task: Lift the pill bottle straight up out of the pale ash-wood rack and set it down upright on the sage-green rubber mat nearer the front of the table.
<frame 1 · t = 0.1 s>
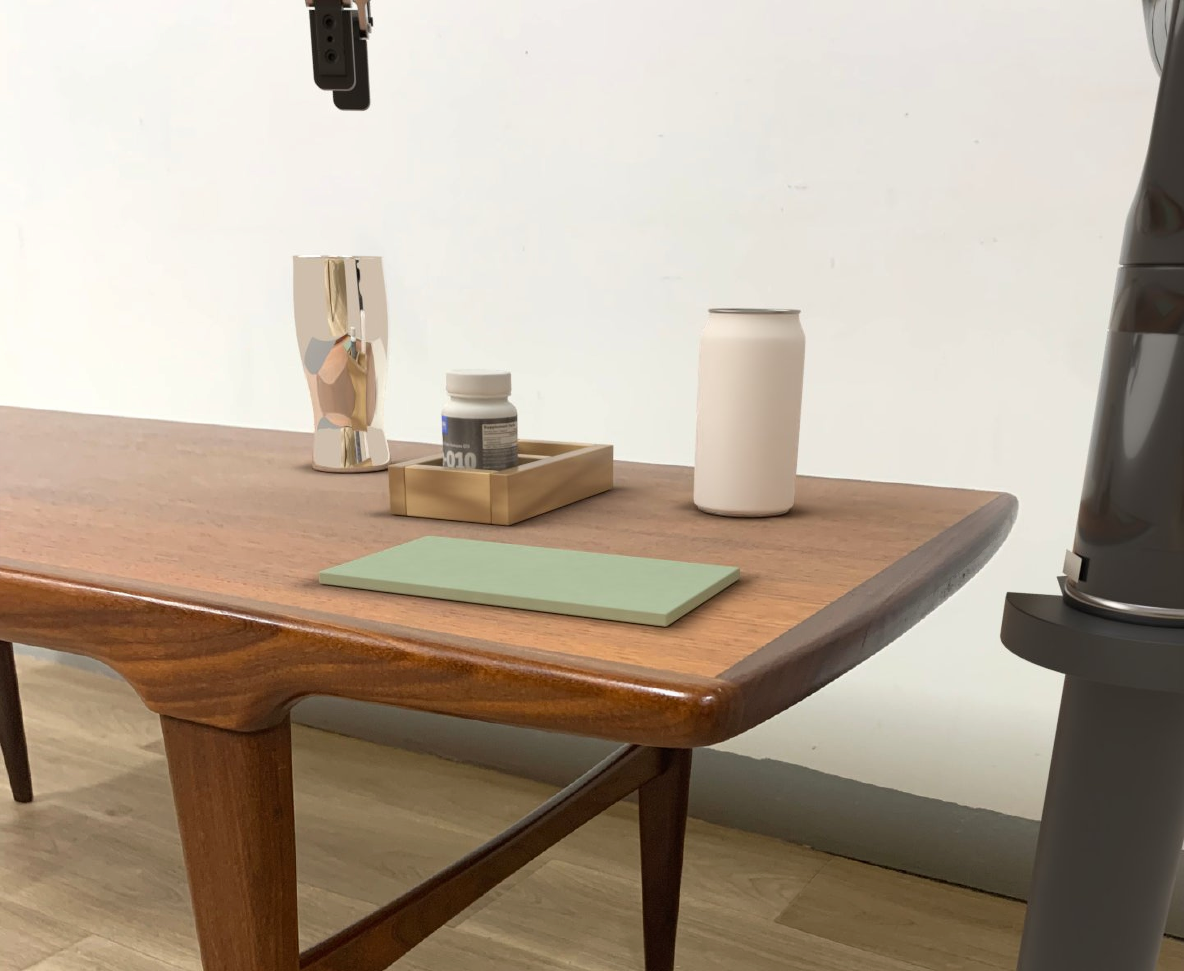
hand: (344, 100, 71), 23 cm above the table, tool pointing down, fingers open, 8 cm apart
rack: (508, 500, 81), on the table
pill bottle: (482, 512, 78), resting in rack
mat: (532, 581, 60), on the table
can: (742, 512, 79), on the table
beer glass: (352, 469, 95), on the table
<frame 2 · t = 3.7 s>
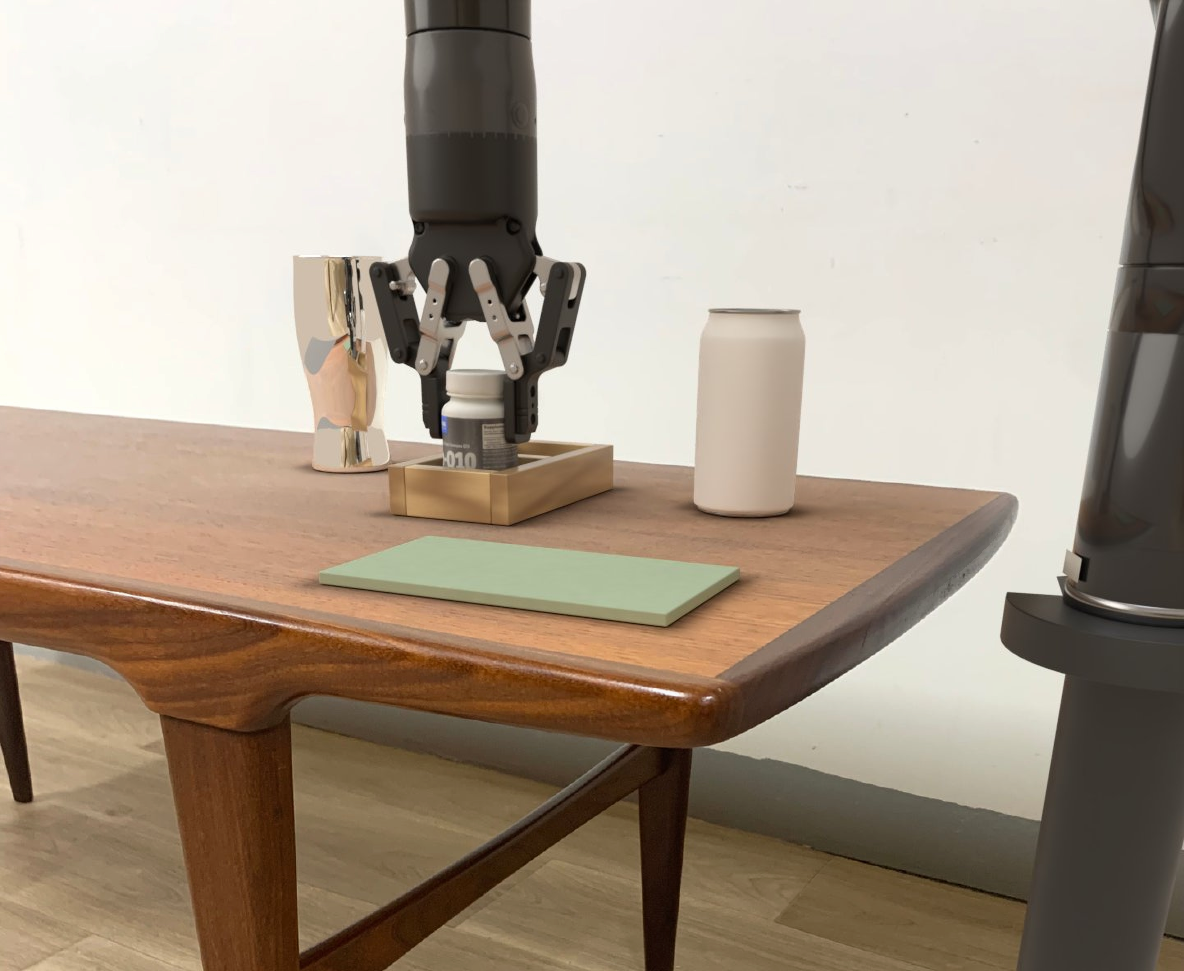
hand: (479, 438, 76), 4 cm above the table, tool pointing down, fingers closed on pill bottle, 4 cm apart
pill bottle: (482, 512, 78), resting in rack, touching gripper
everything else where it was.
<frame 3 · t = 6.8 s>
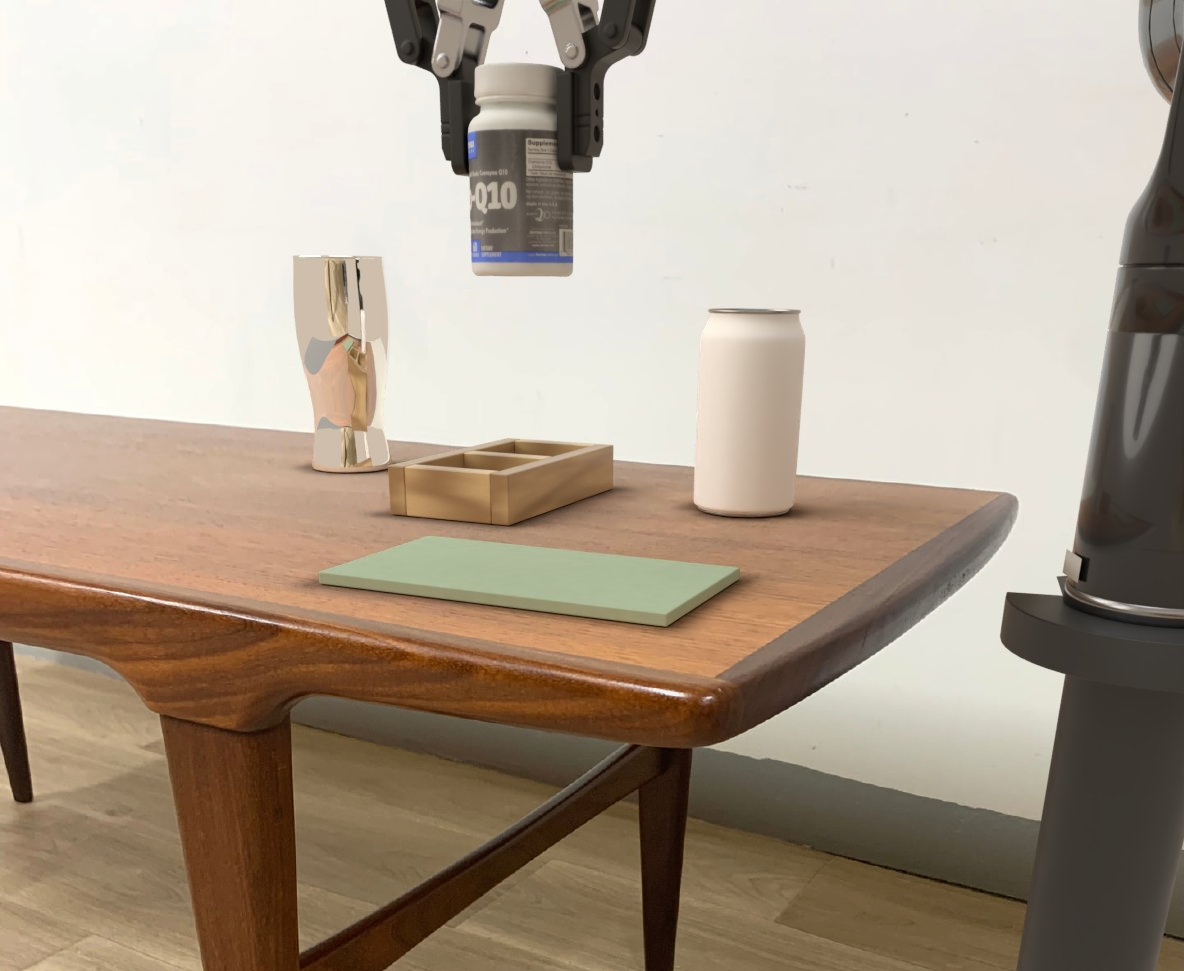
hand: (521, 171, 55), 18 cm above the table, tool pointing down, fingers closed on pill bottle, 4 cm apart
pill bottle: (523, 281, 57), point 14 cm above the table, touching gripper
everything else where it was.
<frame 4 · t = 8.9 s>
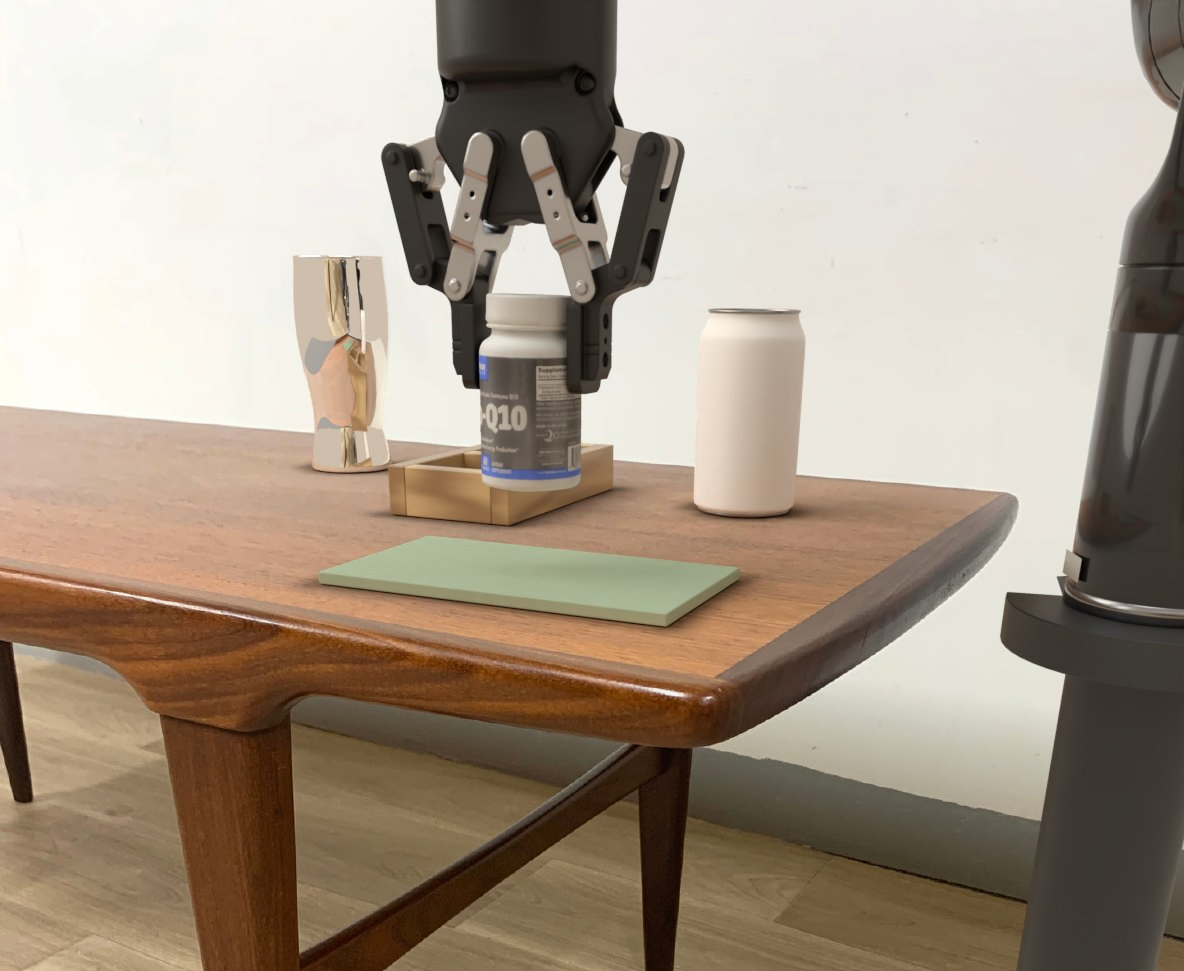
hand: (530, 388, 56), 9 cm above the table, tool pointing down, fingers closed on pill bottle, 4 cm apart
pill bottle: (531, 489, 58), point 4 cm above the table, touching gripper
everything else where it was.
when the fingers open (5 cm above the table, at t = 10.4 s): pill bottle stays where it is, resting on mat.
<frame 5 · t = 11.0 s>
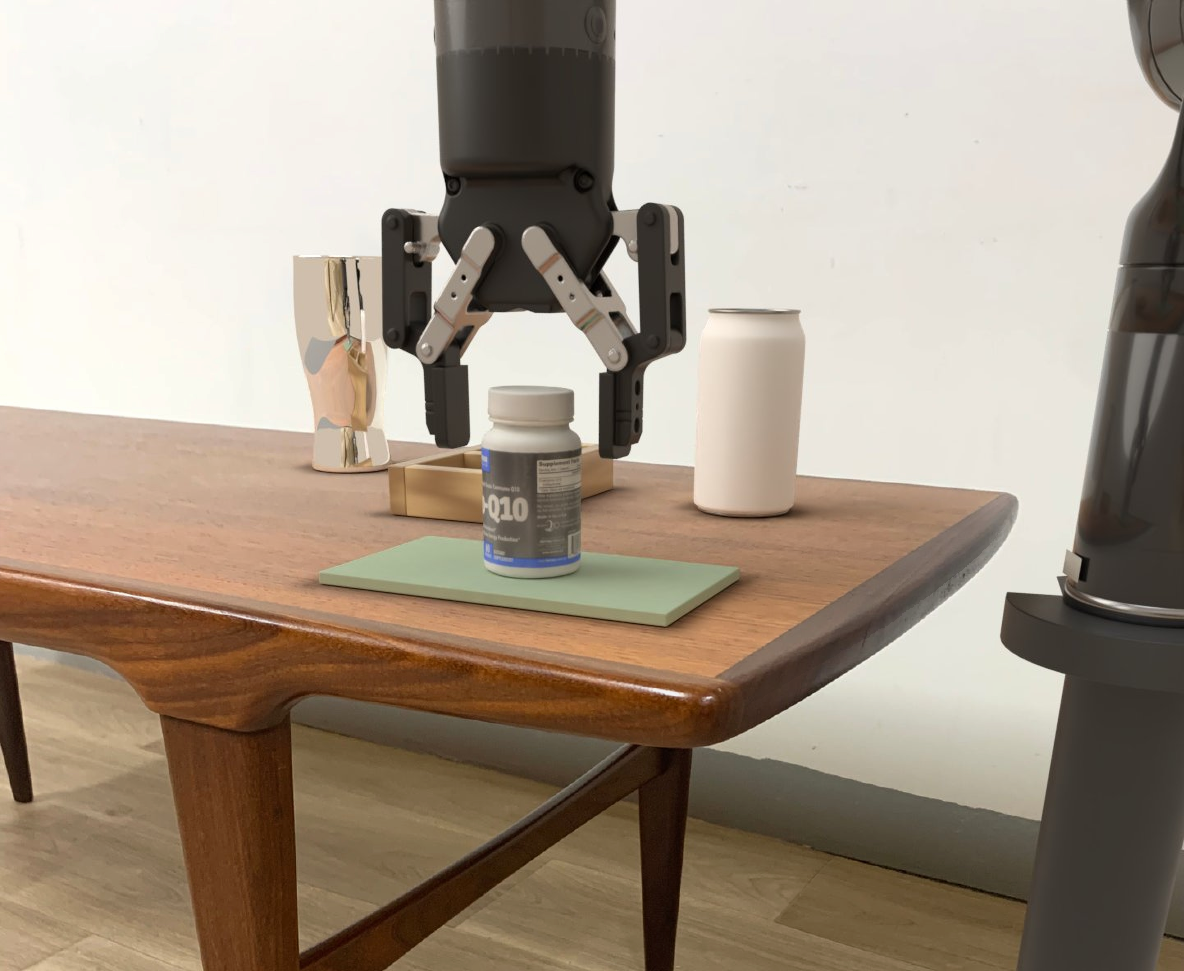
hand: (531, 452, 57), 6 cm above the table, tool pointing down, fingers open, 8 cm apart
pill bottle: (532, 573, 59), resting on mat
everything else where it was.
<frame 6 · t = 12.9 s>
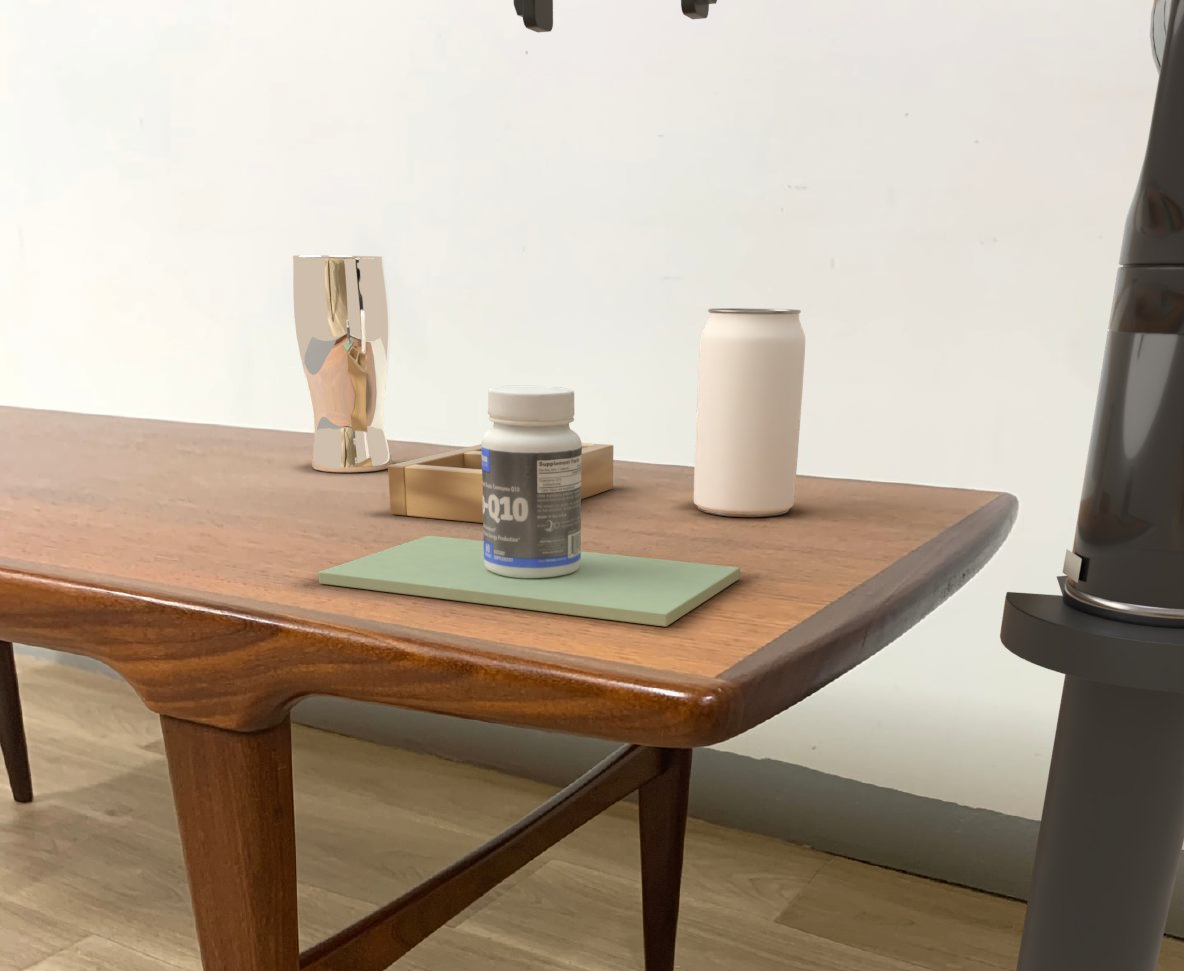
hand: (614, 23, 61), 26 cm above the table, tool pointing down, fingers open, 8 cm apart
nothing on the table moved.
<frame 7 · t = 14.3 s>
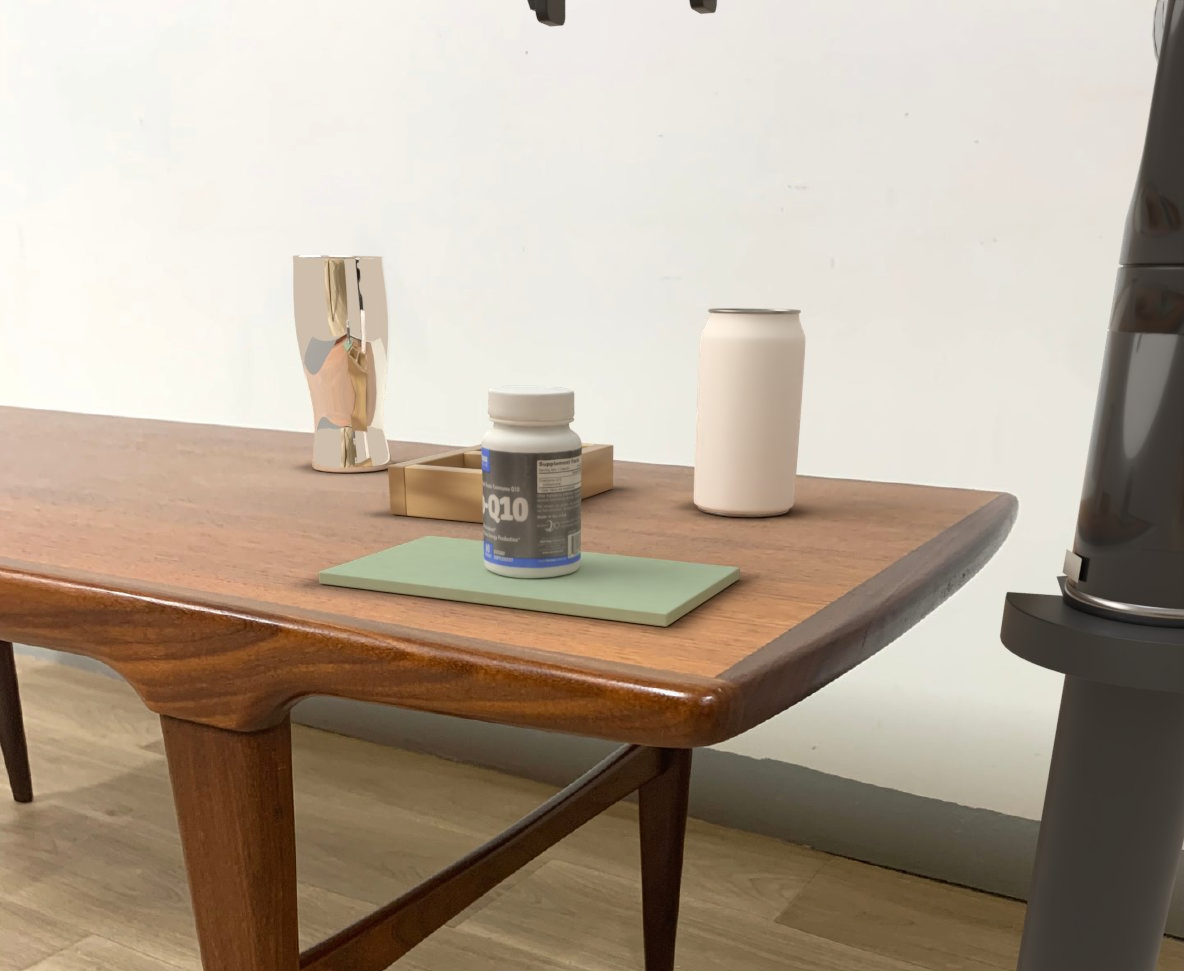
hand: (624, 17, 63), 26 cm above the table, tool pointing down, fingers open, 8 cm apart
nothing on the table moved.
at the end: pill bottle inside the target area on the mat (0.0 cm from its centre), point 0.4 cm above the mat's base; pill bottle tilted 0°; pill bottle touching mat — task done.
